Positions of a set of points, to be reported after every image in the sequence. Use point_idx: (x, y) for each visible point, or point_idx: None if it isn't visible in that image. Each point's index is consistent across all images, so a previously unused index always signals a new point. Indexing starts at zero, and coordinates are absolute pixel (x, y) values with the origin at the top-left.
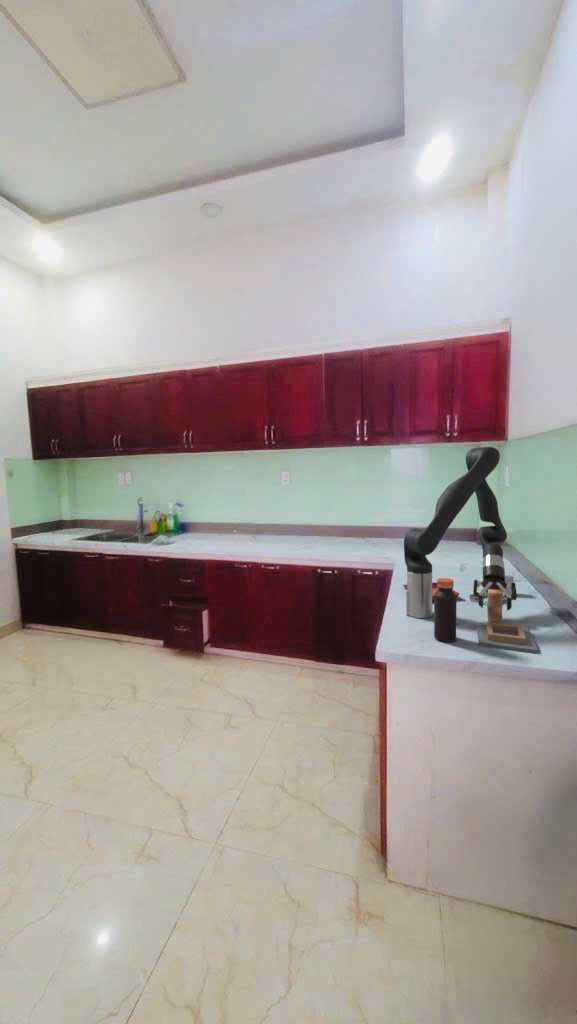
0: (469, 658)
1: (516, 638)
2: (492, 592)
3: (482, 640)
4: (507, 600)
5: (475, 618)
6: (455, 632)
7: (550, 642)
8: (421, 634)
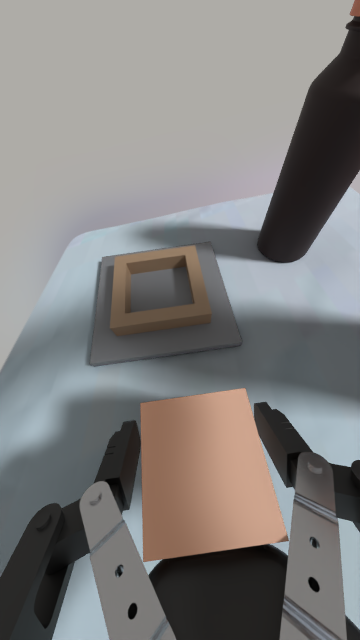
0: (214, 207)
1: (135, 255)
2: (217, 405)
3: (205, 252)
4: (121, 460)
5: None
6: (263, 226)
7: (60, 322)
8: (335, 244)
